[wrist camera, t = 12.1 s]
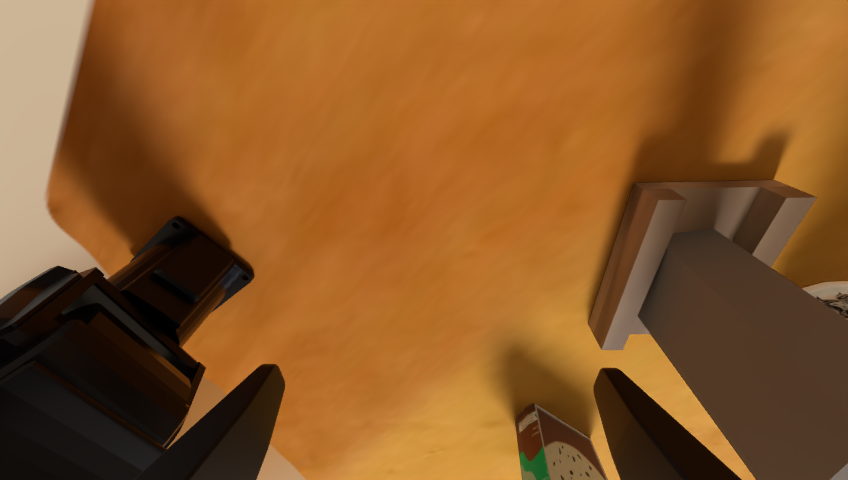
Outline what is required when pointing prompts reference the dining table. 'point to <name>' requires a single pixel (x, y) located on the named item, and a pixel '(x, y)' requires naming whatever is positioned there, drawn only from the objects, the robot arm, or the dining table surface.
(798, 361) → the grey rectangular box
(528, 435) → the food container
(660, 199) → the tray
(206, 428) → the robot arm
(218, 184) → the dining table surface
